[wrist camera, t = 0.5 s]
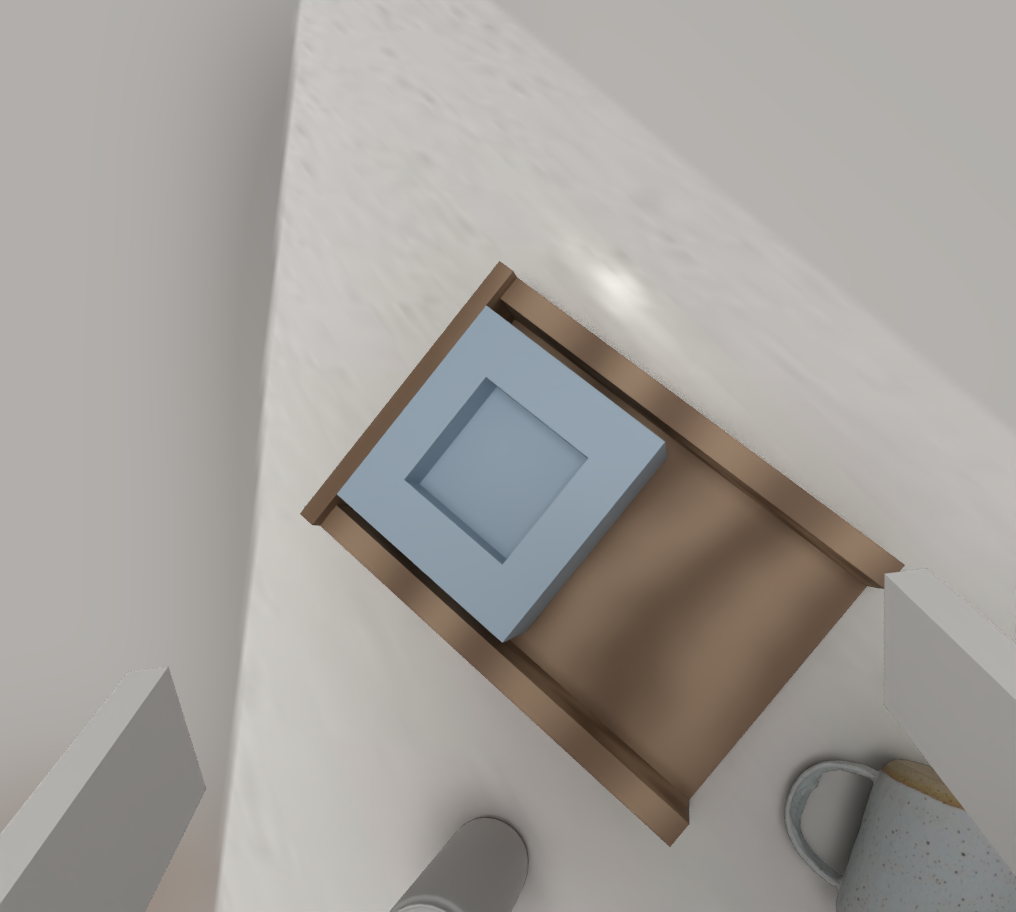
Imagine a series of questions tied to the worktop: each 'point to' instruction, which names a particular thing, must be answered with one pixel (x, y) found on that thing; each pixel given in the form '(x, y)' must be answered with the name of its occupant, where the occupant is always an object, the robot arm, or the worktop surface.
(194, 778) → the robot arm
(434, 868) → the beverage can
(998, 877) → the ceramic mug
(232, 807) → the worktop surface
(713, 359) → the worktop surface
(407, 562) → the bay
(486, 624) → the blue recessed block
